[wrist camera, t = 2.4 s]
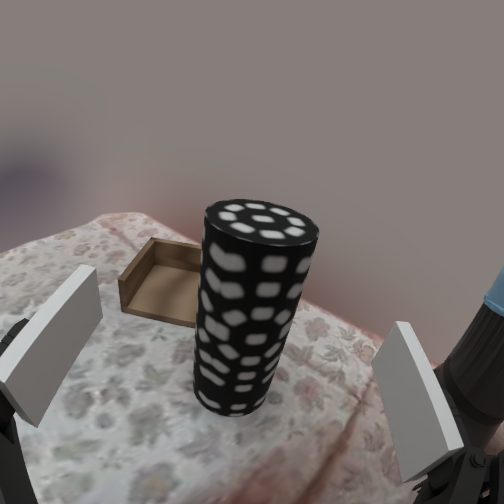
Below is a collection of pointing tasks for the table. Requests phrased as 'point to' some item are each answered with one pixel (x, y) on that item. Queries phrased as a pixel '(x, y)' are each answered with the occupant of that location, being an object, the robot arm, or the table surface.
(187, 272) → the tray
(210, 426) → the table surface
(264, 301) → the white-spotted black cylinder
